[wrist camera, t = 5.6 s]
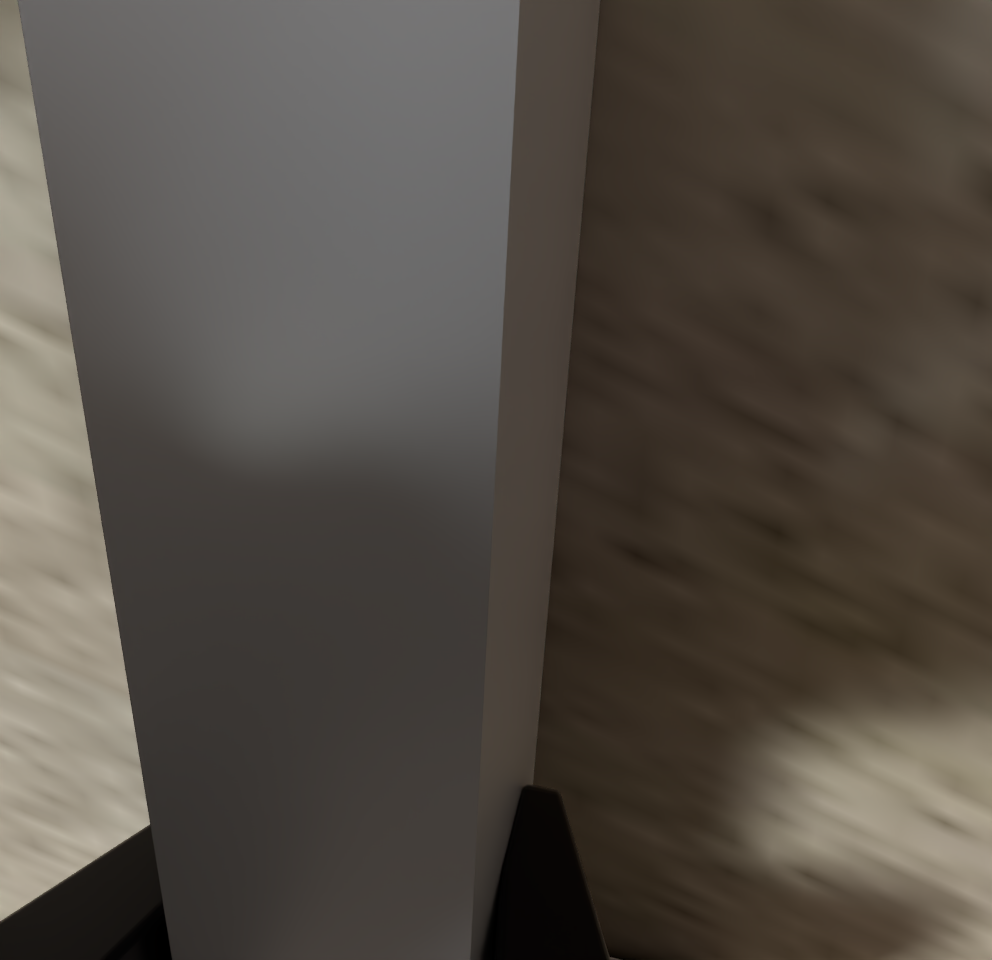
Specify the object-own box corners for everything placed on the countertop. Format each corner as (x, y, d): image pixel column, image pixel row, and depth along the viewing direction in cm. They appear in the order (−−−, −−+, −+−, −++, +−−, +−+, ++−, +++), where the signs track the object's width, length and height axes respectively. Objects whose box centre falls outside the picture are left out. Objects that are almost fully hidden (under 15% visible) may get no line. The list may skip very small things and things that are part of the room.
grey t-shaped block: (962, -57, 6) (1471, -462, 2) (706, 1037, 11) (733, 1473, 7) (61, -57, 7) (-556, -315, 4) (197, 920, 12) (-1, 1238, 8)
